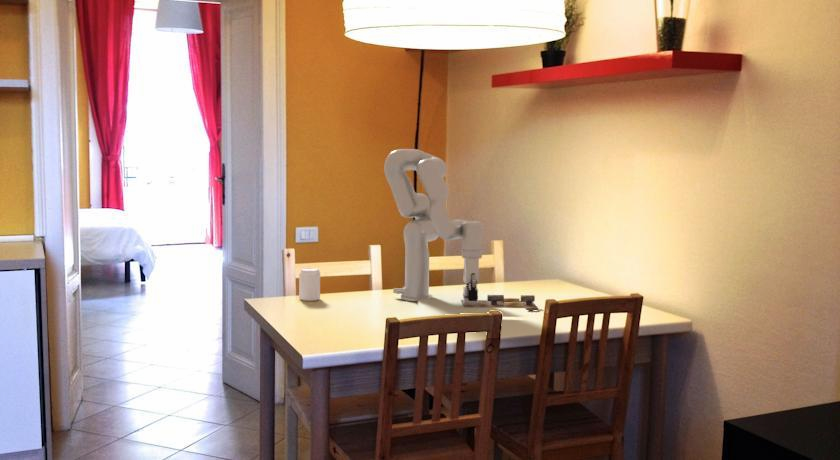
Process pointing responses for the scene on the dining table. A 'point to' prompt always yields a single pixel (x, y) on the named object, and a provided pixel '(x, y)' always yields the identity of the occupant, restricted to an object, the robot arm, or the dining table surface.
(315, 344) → the dining table surface
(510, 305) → the rig
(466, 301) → the coupler
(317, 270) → the beverage can
